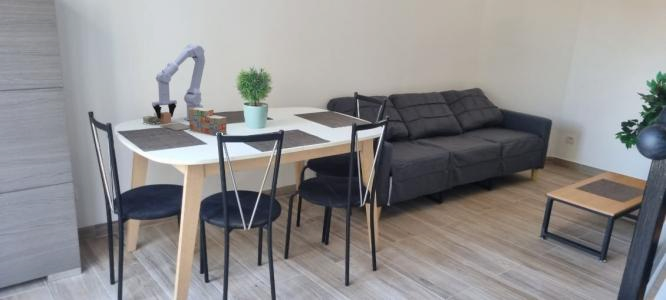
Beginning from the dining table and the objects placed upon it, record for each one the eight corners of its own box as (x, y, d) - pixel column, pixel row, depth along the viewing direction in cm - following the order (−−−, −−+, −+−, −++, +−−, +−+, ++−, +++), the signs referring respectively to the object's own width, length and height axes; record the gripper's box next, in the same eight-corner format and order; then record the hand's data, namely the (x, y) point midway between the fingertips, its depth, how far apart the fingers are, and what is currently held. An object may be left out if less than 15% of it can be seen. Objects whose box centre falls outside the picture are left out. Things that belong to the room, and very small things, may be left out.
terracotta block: (167, 122, 280) (166, 112, 278) (171, 123, 277) (170, 113, 275) (159, 123, 276) (159, 112, 275) (164, 124, 273) (163, 114, 272)
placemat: (179, 123, 276) (179, 122, 276) (195, 128, 267) (195, 127, 267) (160, 126, 267) (160, 125, 267) (176, 131, 258) (176, 130, 258)
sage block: (151, 122, 278) (151, 115, 277) (156, 123, 275) (155, 117, 274) (143, 123, 274) (142, 116, 273) (147, 125, 271) (147, 118, 270)
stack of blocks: (226, 134, 255) (226, 111, 252) (218, 136, 250) (218, 113, 247) (197, 128, 265) (197, 106, 262) (189, 130, 260) (188, 108, 257)
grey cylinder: (160, 120, 284) (160, 112, 283) (165, 121, 281) (164, 113, 280) (152, 121, 280) (152, 112, 279) (157, 122, 277) (156, 114, 276)
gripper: (171, 92, 280) (172, 115, 283) (148, 94, 269) (149, 117, 273) (178, 93, 276) (179, 116, 279) (155, 95, 265) (156, 119, 268)
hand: (165, 117), depth 276 cm, fingers open, 7 cm apart
